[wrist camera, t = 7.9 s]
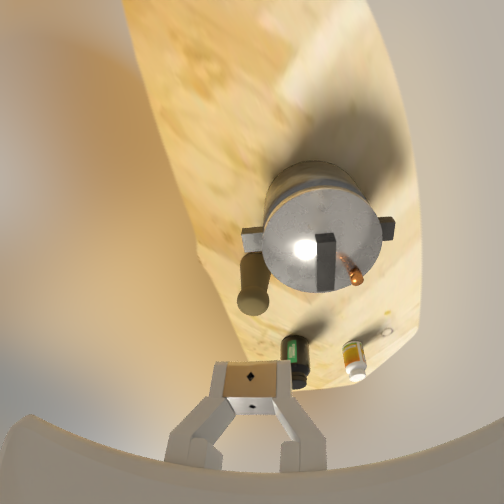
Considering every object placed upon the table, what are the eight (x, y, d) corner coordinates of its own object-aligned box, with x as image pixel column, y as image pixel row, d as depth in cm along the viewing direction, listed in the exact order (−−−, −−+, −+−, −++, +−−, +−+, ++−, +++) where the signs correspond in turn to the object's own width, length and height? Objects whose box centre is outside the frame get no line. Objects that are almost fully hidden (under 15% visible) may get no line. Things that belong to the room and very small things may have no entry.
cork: (279, 263, 52) (279, 306, 43) (260, 282, 55) (257, 326, 46) (251, 247, 50) (246, 289, 41) (234, 268, 53) (226, 311, 44)
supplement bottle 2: (338, 350, 67) (342, 382, 59) (349, 338, 64) (355, 371, 56) (354, 353, 68) (360, 383, 60) (365, 341, 65) (372, 373, 57)
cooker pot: (240, 168, 41) (231, 193, 33) (377, 158, 38) (402, 181, 30) (255, 252, 51) (251, 290, 42) (372, 242, 47) (388, 278, 39)
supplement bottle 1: (285, 332, 63) (285, 376, 54) (312, 336, 64) (315, 379, 54) (277, 348, 67) (276, 389, 58) (302, 352, 68) (304, 392, 58)
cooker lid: (254, 191, 33) (252, 204, 30) (383, 182, 31) (393, 194, 28) (269, 289, 42) (269, 306, 39) (372, 280, 40) (378, 296, 37)
